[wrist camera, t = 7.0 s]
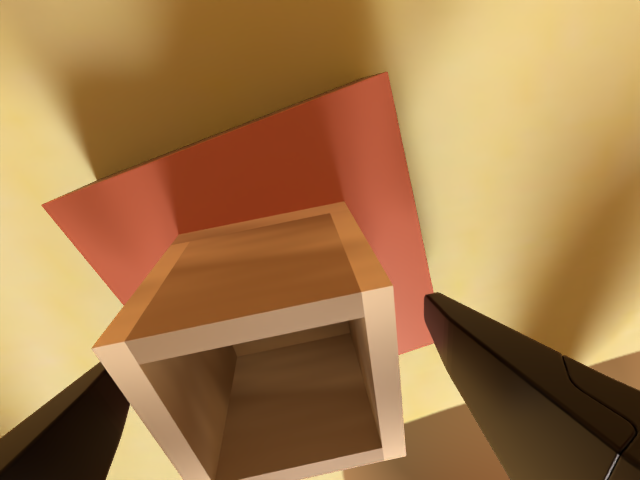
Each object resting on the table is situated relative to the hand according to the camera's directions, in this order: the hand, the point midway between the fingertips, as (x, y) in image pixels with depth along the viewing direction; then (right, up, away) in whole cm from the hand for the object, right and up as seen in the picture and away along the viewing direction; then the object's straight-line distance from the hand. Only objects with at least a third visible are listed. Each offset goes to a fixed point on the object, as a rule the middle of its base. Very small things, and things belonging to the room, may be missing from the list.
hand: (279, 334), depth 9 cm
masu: (0, +1, +2) cm, 2 cm away
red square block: (-1, +3, +5) cm, 6 cm away
